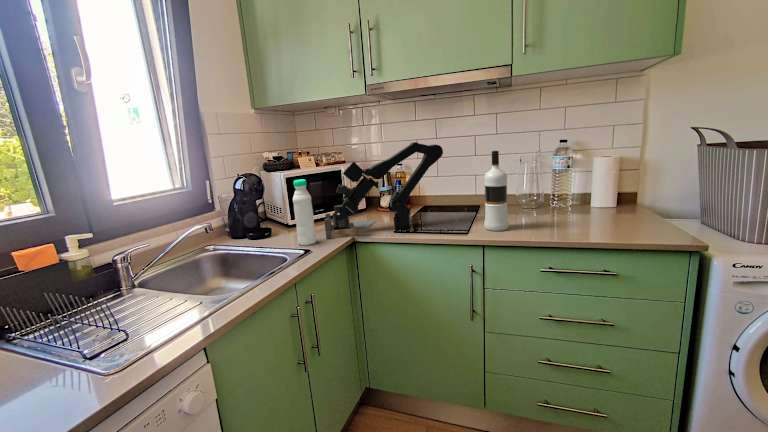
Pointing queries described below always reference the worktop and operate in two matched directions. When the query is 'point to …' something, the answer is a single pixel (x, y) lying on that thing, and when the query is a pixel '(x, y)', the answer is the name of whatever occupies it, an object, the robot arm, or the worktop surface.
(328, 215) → the bracket holder
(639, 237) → the worktop surface
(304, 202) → the milk bottle
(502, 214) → the vodka
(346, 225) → the supplement bottle
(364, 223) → the slate mat
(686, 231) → the worktop surface
